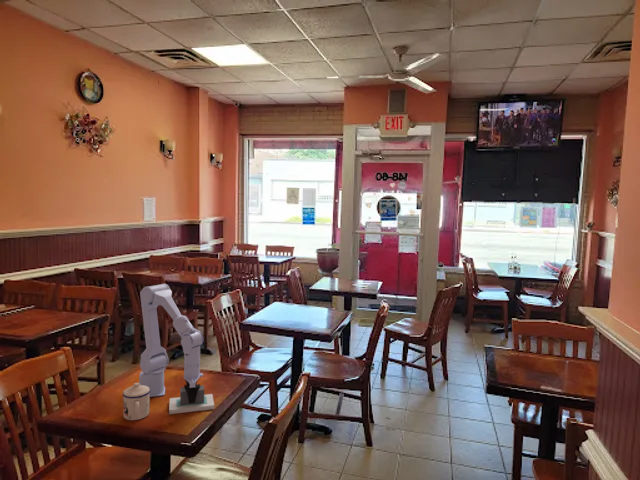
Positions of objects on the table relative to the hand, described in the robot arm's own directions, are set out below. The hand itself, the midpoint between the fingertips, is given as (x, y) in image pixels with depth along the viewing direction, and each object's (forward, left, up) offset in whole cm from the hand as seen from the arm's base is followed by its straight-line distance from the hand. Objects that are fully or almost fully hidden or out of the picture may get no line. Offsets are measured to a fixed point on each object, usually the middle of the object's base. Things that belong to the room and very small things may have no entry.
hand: (191, 398), depth 162 cm
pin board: (0, 0, -3) cm, 3 cm away
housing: (0, 0, -1) cm, 1 cm away
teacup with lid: (-19, -4, -3) cm, 20 cm away
